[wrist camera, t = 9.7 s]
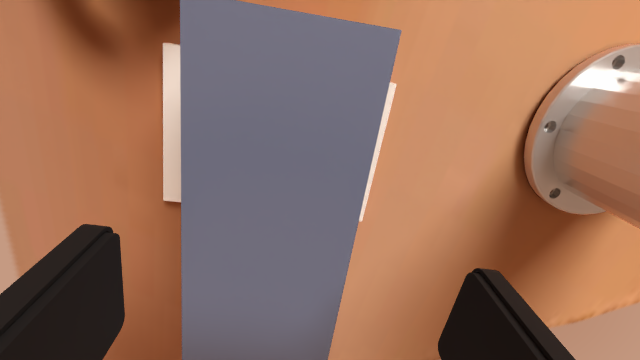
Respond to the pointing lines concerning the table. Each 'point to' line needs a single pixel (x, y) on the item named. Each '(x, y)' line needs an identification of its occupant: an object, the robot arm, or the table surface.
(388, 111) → the display stand
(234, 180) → the blue-grey rectangular block
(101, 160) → the table surface
